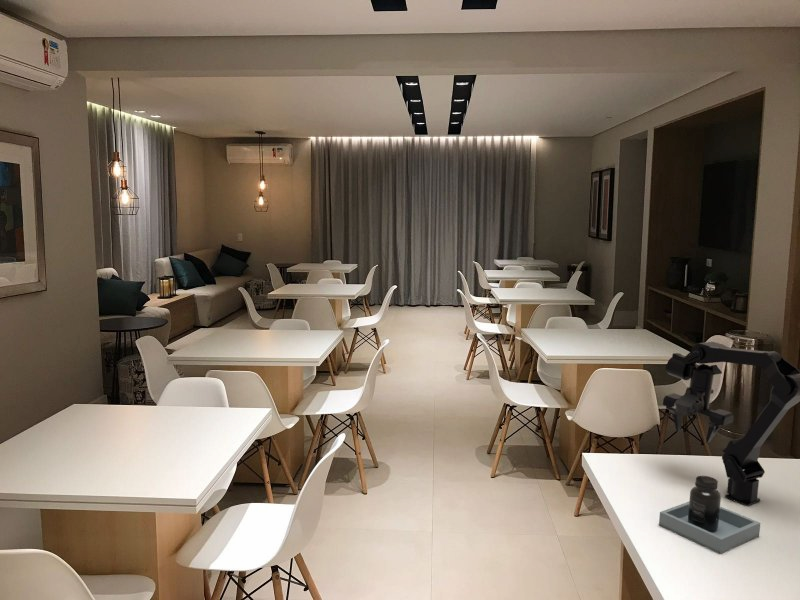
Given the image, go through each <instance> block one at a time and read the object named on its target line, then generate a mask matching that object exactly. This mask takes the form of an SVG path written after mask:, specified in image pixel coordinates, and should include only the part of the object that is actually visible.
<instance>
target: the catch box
mask: <svg viewBox="0 0 800 600" xmlns="http://www.w3.org/2000/svg"><path fill="white" fill-rule="evenodd" d="M688 512H689V501H687V502H683V503H681V504H678V505H675V506H672V507H670V508H667V509H665V510H661V511H659V520H658V526H659V527H661V528H663V529H665V530H667V531H669V532H672V533H674V534H677V535H679V536H680V537H682V538H685V539H688V540H689V541H691V542H694V543H696V544H697V545H700V546H702V547H704V548H706V549H709V550H711V551H713V552H715V553H716V554H719V555H722V554H723V553H726V552H728V551H731V550H732V549H735V548H737V547H739V546H741V545H744V544H745V543H748V542H751V541H752V540H755V539H757V538H759V537H760V532H761V522H759V521H758V520H754V519H752V518H750V517H748V516H745V515H741V514H740V513H738V512H735V511H733V510H730V509H727V508H725V507H723V506H720V513H719V524H718V529H717V530H716V531H714V532H709V531H706V530H704V529H702V528H700V527H697V526H695V525H693V524H691V523H688Z"/></svg>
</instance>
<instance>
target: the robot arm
mask: <svg viewBox="0 0 800 600" xmlns="http://www.w3.org/2000/svg"><path fill="white" fill-rule="evenodd" d="M714 363H731V364H738V365H739V364H740V365H745V366H746V365H747V366H756V367H761V368H762V369H763V371H764V373H765V376H766V378H767V380H768V381H769V383H770V384H771V385H772V388H771V390H770V399H769V401H768V403H767V404H766V405H765V407H764V409H763V410H762V411H761V412H760V414H759V415H758V416H757V418H756V419H755V421H754V422H753V423H752V425H751V427H749V429H748V431H746V433H745V434H744V435H743V437H740V438H735V439H732V440H729V441H728V443H727V445H726V447H725V448H724V449H722V450H721V451H722V452H723V453H722V457H721V460H722V463H723V465H724V470H725V474H726V477H727V478H728V479H727V488H726V493H727V494H725V495H724V498H726V499H729V500H732V501H734V502H736V503H739V504H742V505H743V506H749V507H750V506H751V505H753V504H755V503H758V502H761V498H760V497H758V495H759V494H758V492H759V483H760V480H759V479H760V478H763V476H764V474H766V473H765V472H766V471H765V470H764V467H763V466H762V465H761V463H760V462H759V460H758V459H759V457H760V453H761V447H762V445H763V444H764V443H765V442H766V440H767V439H768V437H769V436H770V435H771V433H772V432H773V431H774V430H775V428H776V427H777V425H778V424H779V423H780V421H782V419H783V417H784V416H786V414H787V413H788V411H789V410H790V409H791V408H792V407H794V406H795V405H797V404H798V403H799V402H800V370H799V368H798V367H796V366H795V365H793V364H792V363H791V362H790V361H788V360H786V359H785V358H784V357H783V356H782V355H781V354H780V353H779V352H777V351H775V350H773V351H765V350H754V349H744V348H735V347H730V346H726V345H725V344H722V343H719V342H715V341H706V342H699V343H695V344H694V345H692V347H691V350H690V351H689V352H688V353H687V354H686V355H683V354H681V353H679V352H674V353H672V356H671V357H670V358H669V360H668V361H667V363H666V365H665V372H666V374H668V375H670V376H672V377H675V378H678V379H680V380H682V381H688V380H690V381H689V387H686V389H685V393H684V395H680V394H678V393H674V392H673V393H670V394H667V395H664V397H663V398H662V402H661V404H662V406H664V407H665V409H667V410H668V411H670V413H671V416H672V418H673V422H674V427H675V431H676V432H680V431H681V428H682V424H683V420H684V417H685V416H686V417H693V415H694V414H698V415H699V414H701V415H704V416H707V417H708V419H709V421H707V425H708V429H707V435H706V438H705V439H706V441H705V442H706V444H709V443H710V442H711V441H712V440H713V438H714V437H715V435H716V434H717V433H718V431H719V430H720V429H721V427H724V426H727V425H729V424H730V425H731V424H732V423H734V418H735V417H734V414H733V413H732V412H730V411H728V410H724V409H721V408H717V409H715V410H713V409H709V408H711V407H712V403H711V402H710V399H711V395H712V394H714V391H715V390H714V389H713V388H712V387H713V383H714V378H715V377H714V376H717V375H722V374H723V372H722V370H721V369H720V368H719V366H718V365H717V364H714ZM709 364H711V365H709Z"/></svg>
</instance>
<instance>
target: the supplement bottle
mask: <svg viewBox="0 0 800 600" xmlns="http://www.w3.org/2000/svg"><path fill="white" fill-rule="evenodd" d="M721 501H722V496H721V493H720V492H719V491H718V480H717V479H716V478H714V477H712V476H708V475H697V476H696V477H695V482H694V486H693V487H692V488H691V489H690V492H689V501H688V502H689V512H688V523H691V524H693V525H695V526H697V527H700V528H702V529H704V530H706V531H709V532H714V531H716V530H717V529H718V524H719V513H720V507H721Z"/></svg>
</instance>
